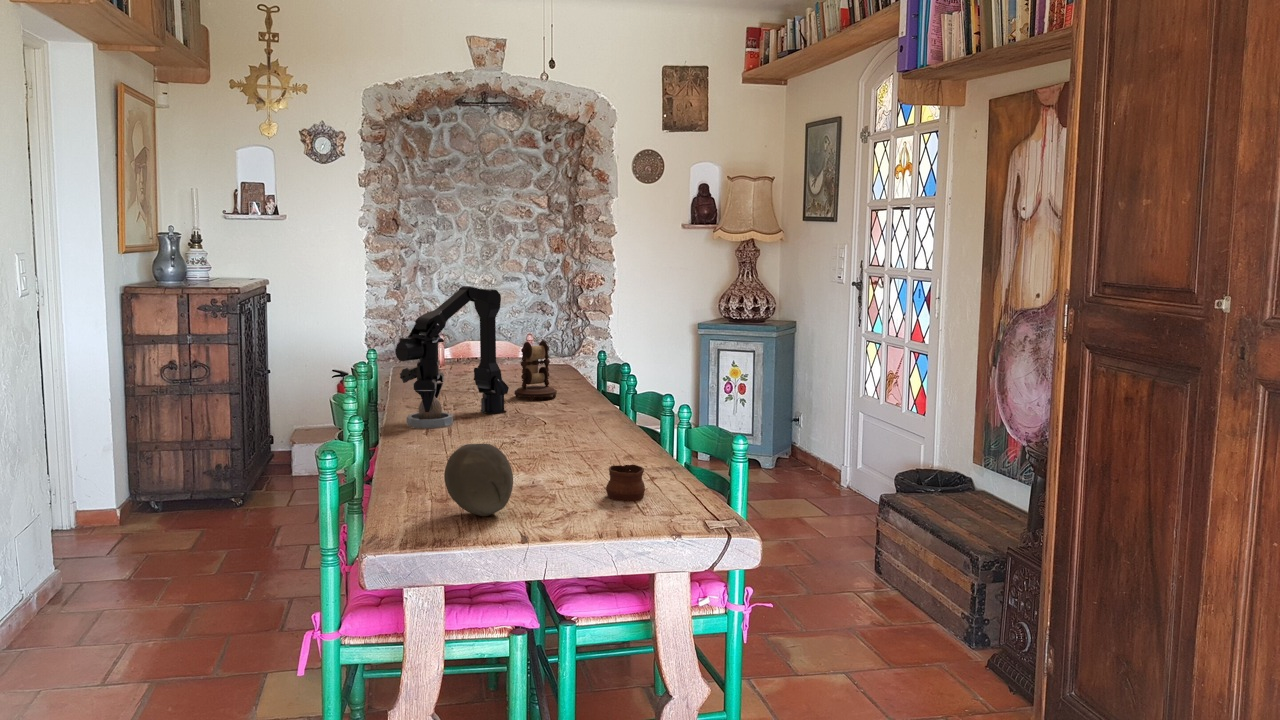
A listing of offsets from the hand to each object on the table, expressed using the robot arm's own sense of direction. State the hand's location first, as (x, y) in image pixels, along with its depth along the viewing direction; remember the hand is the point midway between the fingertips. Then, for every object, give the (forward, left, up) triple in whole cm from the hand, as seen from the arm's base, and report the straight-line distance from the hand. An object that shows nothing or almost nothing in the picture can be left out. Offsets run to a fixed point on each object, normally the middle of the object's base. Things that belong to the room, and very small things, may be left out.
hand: (429, 409), depth 309 cm
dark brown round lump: (+30, +99, -5) cm, 103 cm away
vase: (0, 0, -4) cm, 4 cm away
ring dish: (0, 0, -4) cm, 4 cm away
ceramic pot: (-4, +103, -5) cm, 103 cm away
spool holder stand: (-50, -26, -5) cm, 57 cm away
